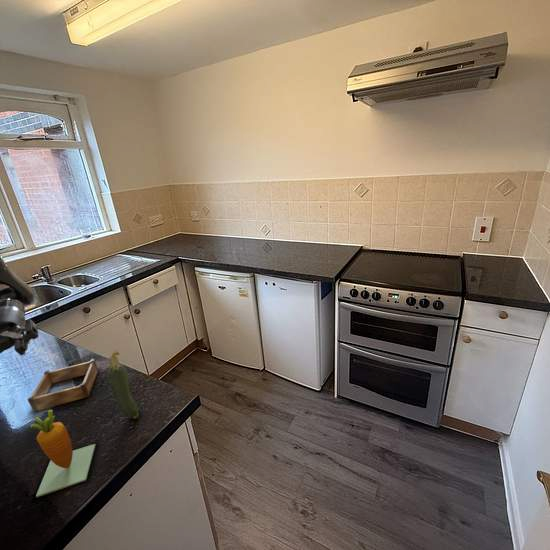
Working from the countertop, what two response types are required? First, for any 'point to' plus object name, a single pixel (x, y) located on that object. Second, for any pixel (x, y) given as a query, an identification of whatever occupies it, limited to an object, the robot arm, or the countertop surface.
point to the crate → (45, 400)
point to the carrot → (54, 440)
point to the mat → (67, 472)
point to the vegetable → (121, 387)
